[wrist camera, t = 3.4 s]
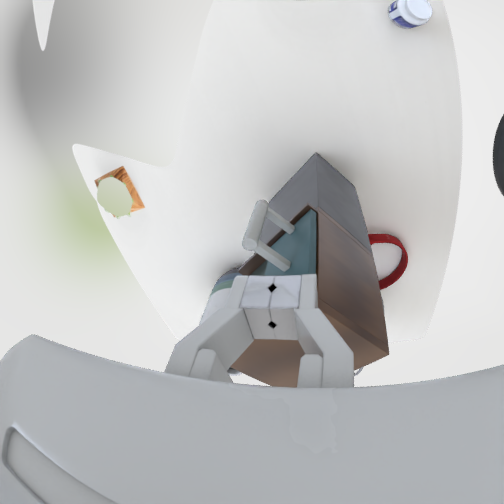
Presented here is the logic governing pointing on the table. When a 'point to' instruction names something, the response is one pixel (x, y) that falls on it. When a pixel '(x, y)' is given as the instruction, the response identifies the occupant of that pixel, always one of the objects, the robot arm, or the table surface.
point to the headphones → (402, 265)
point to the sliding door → (283, 242)
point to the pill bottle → (410, 13)
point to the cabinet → (323, 274)
